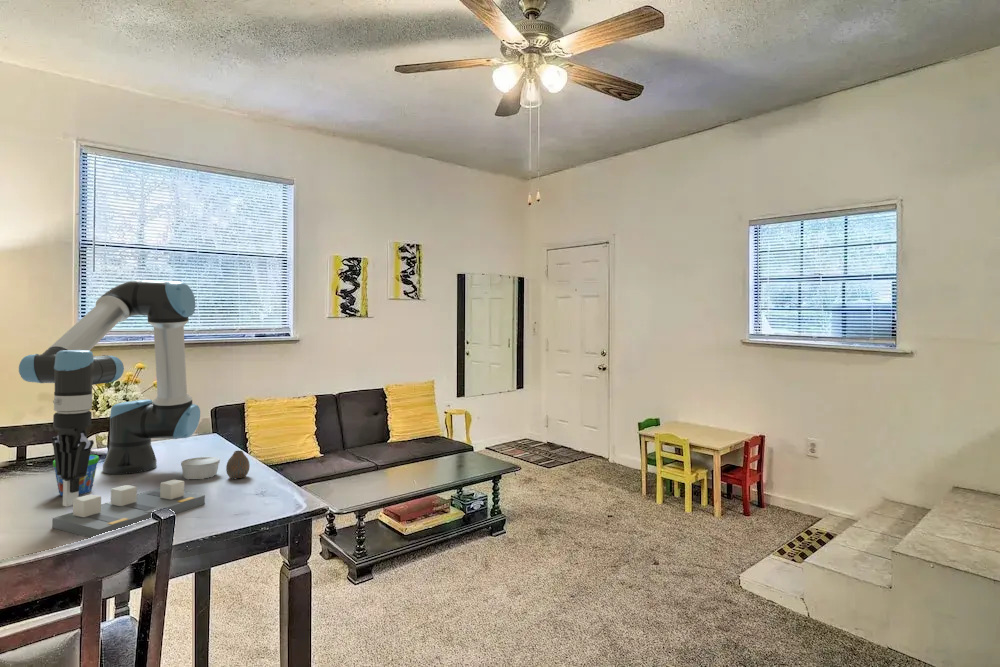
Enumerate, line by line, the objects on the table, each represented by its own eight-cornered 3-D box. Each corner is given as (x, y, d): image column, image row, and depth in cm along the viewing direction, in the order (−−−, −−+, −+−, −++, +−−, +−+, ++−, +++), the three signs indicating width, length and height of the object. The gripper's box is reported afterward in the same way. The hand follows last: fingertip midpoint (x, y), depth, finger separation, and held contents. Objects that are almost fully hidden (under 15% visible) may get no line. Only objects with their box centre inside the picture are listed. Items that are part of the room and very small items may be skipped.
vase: (231, 474, 178) (231, 448, 178) (252, 474, 179) (253, 449, 179) (222, 480, 171) (223, 453, 171) (244, 480, 172) (245, 453, 172)
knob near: (72, 514, 131) (73, 498, 131) (90, 509, 134) (90, 494, 134) (83, 517, 129) (83, 501, 129) (100, 512, 133) (101, 496, 133)
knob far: (160, 497, 145) (160, 483, 145) (173, 493, 149) (174, 479, 149) (170, 499, 144) (170, 484, 144) (184, 495, 148) (184, 481, 148)
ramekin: (213, 470, 183) (213, 454, 183) (224, 477, 175) (224, 461, 175) (176, 475, 176) (177, 459, 175) (185, 483, 168) (186, 466, 168)
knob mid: (110, 504, 139) (111, 488, 139) (126, 499, 143) (126, 484, 143) (121, 506, 138) (121, 490, 138) (136, 501, 141) (136, 486, 141)
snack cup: (61, 487, 160) (61, 453, 160) (103, 483, 164) (104, 451, 164) (43, 503, 146) (44, 466, 146) (91, 499, 150) (91, 463, 150)
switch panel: (52, 527, 129) (52, 517, 129) (161, 495, 155) (162, 486, 155) (98, 539, 123) (99, 528, 123) (204, 503, 149) (204, 494, 149)
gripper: (39, 411, 133) (37, 505, 133) (72, 415, 128) (70, 513, 128) (72, 407, 140) (70, 496, 140) (105, 411, 135) (103, 503, 135)
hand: (70, 504), depth 134 cm, fingers closed
